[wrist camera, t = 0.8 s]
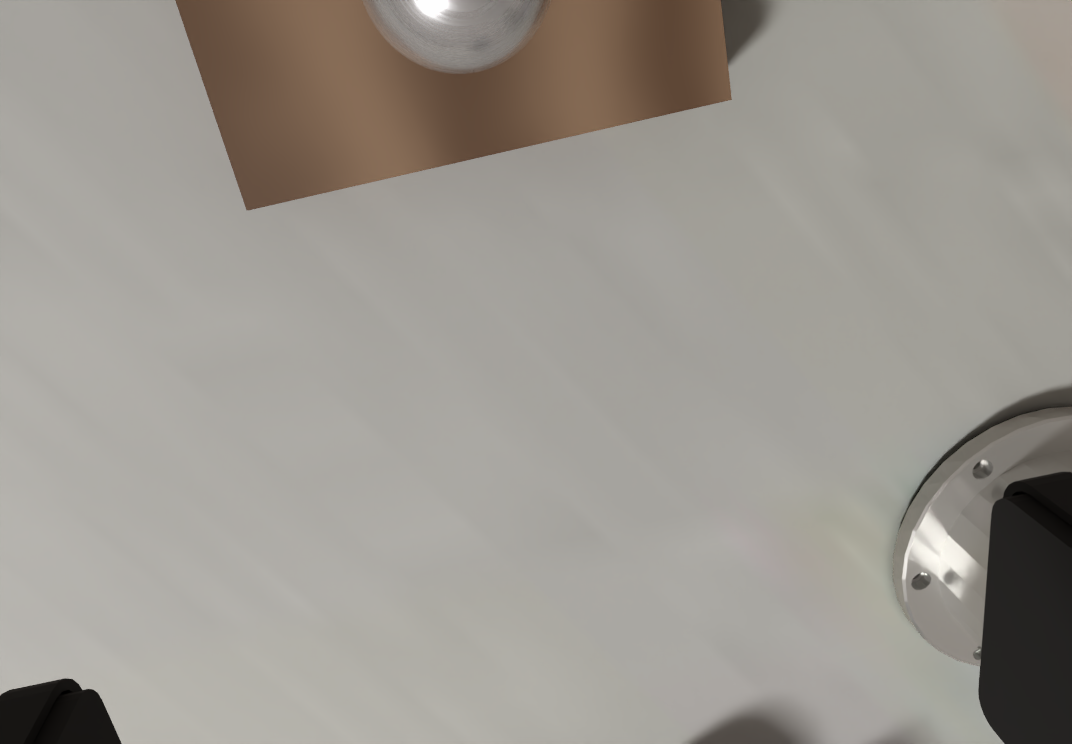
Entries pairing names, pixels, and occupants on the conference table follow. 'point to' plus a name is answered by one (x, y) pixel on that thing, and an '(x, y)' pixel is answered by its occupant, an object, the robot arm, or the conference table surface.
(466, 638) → the conference table surface
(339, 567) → the conference table surface
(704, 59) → the deck
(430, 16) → the ball
